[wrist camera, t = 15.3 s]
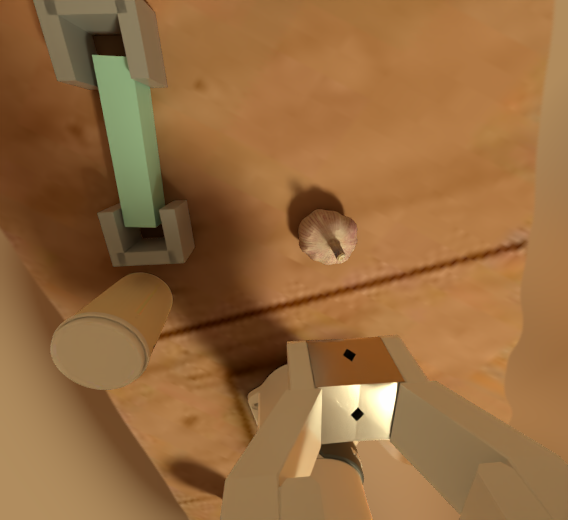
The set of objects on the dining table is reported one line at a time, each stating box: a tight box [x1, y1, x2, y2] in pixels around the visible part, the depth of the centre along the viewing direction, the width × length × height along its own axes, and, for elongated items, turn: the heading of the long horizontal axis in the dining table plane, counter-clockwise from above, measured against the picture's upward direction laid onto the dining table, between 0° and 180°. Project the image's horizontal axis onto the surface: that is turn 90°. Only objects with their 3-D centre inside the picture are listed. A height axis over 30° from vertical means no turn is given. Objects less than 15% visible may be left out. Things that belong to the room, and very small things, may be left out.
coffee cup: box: [50, 272, 173, 390], centre depth 34 cm, size 9×9×12 cm
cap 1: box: [33, 0, 168, 90], centre depth 26 cm, size 6×8×5 cm
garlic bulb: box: [298, 209, 357, 265], centre depth 34 cm, size 8×7×8 cm
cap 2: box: [97, 200, 195, 267], centre depth 33 cm, size 6×8×5 cm
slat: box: [92, 55, 165, 228], centre depth 31 cm, size 16×3×4 cm, turn 178°
